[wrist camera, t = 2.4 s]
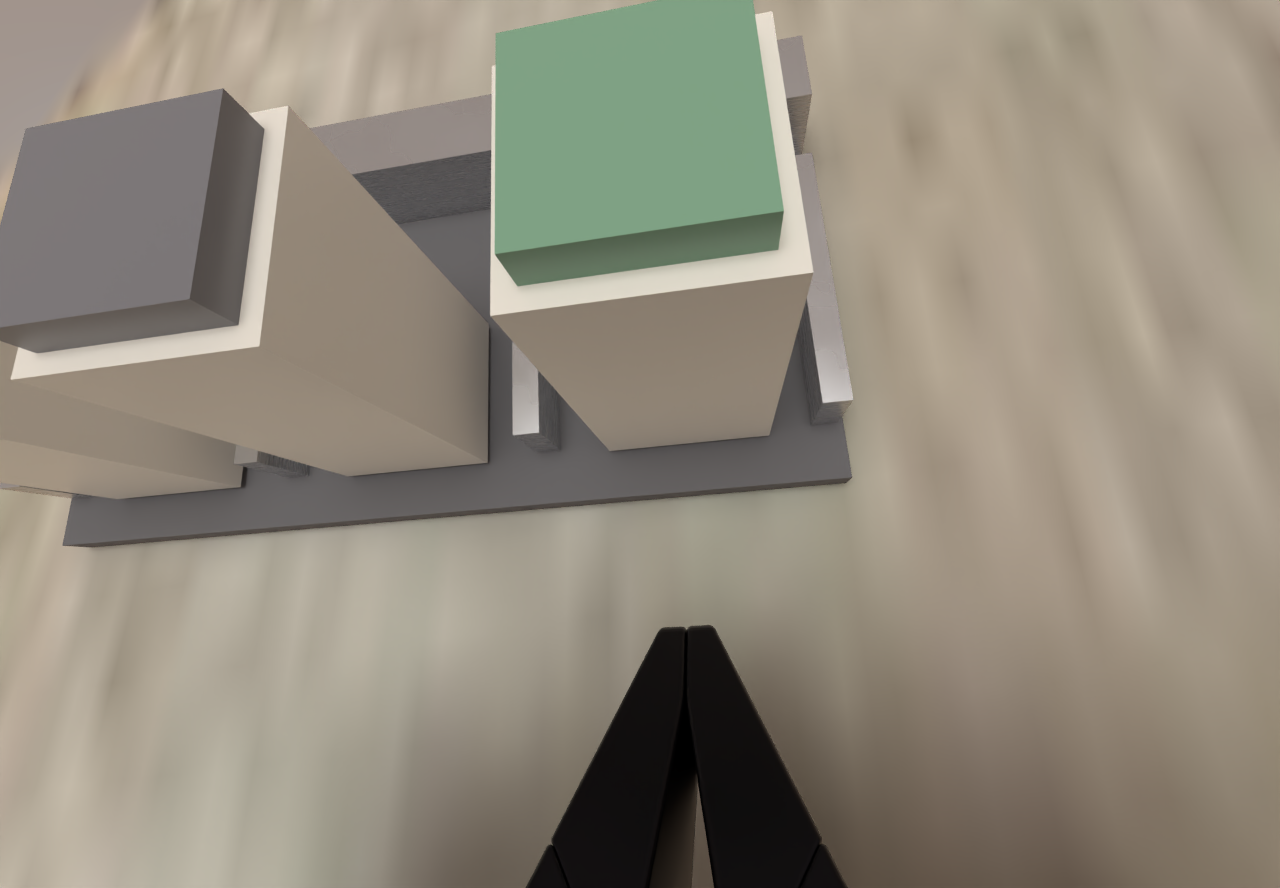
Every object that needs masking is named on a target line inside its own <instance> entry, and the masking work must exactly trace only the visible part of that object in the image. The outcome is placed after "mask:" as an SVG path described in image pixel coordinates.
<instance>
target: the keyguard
mask: <svg viewBox="0 0 1280 888" xmlns="http://www.w3.org/2000/svg"><path fill="white" fill-rule="evenodd" d="M777 45H778V51H779V57H780V64H781V70H782V76H783V83H784V89H785V95H786V102H787V108H788V114H789V121H790V127H791V133H792V140H793V146H794V152H795V159H796V165H797V171H798V177H799V184H800V190H801V196H802V203H803V209H804V215H805V222H806V228H807V234H808V241H809V247H810V253H811V260H812V266H813V272H814V273H813V276H812V280H811V284H810V287H809V291H808V295H807V298H806V302H805V306H804V309H803V313H802V317H801V320H800V324H799V328H798V331H797V334H798V341H799V348H800V355H801V361H802V368H803V375H804V382H805V389H806V396H807V403H808V410H809V416H810V423H811V426H816V425H827V424H837V423H838V422H839V420H840V419H841V417H842V416H843V415H844V413H845V412H846V410H847V409H848V407H849V406H850V404H851V403H852V401H853V395H852V389H851V383H850V377H849V371H848V365H847V359H846V353H845V347H844V341H843V335H842V329H841V323H840V317H839V311H838V305H837V299H836V293H835V287H834V281H833V275H832V269H831V263H830V257H829V251H828V246H827V240H826V234H825V228H824V222H823V216H822V210H821V204H820V198H819V192H818V186H817V180H816V174H815V168H814V162H813V156H812V153H807V154H802V150H803V144H804V138H805V132H806V126H807V120H808V114H809V109H810V103H811V97H812V91H811V85H810V79H809V74H808V68H807V62H806V56H805V51H804V45H803V39H802V36H797V37H791V38H786V39H781V40H777ZM310 130H311V131H312V132H313V133H314V134H315V135H316V136H317V137H318V138H319V139H320V140H321V142H322V143H323V144H324V145H325V146H326V147H327V148H328V149H329V150H330V151H331V152H332V154H333V155H334V156H335V157H336V158H337V159H338V160H339V161H340V162H341V163H342V164H343V166H344V167H345V168H346V169H347V170H348V171H349V172H350V173H351V174H352V175H353V176H354V178H355V179H356V180H357V181H358V182H359V183H360V184H361V185H362V186H363V187H364V188H365V190H366V191H367V192H368V193H369V194H370V195H371V196H372V197H373V198H374V199H375V200H376V202H377V203H378V204H379V205H380V206H381V207H382V208H383V209H384V210H385V211H386V212H387V214H388V215H389V216H390V217H391V218H392V219H393V220H394V221H395V222H396V223H397V224H402V223H408V222H414V221H421V220H427V219H433V218H439V217H445V216H452V215H458V214H464V213H470V212H477V211H483V210H489V209H491V132H492V94H490V95H484V96H479V97H474V98H468V99H463V100H458V101H453V102H447V103H442V104H437V105H431V106H426V107H421V108H416V109H410V110H405V111H400V112H394V113H389V114H384V115H378V116H373V117H368V118H363V119H357V120H352V121H347V122H341V123H336V124H331V125H325V126H320V127H315V128H310ZM512 407H513V436H514V437H516V438H517V439H519V440H520V441H522V442H523V443H524V444H526V445H527V446H529V447H530V448H532V449H533V450H534V451H536V452H537V453H544V452H554V451H562V450H561V412H560V394H559V393H558V392H557V391H556V390H555V389H554V388H553V386H552V385H551V384H550V383H549V382H548V381H547V380H546V379H545V377H544V376H543V375H542V374H541V373H540V372H539V371H538V369H537V368H536V367H535V366H534V365H533V364H532V363H531V362H530V360H529V359H528V358H527V357H526V356H525V355H524V354H523V352H522V351H521V350H520V349H519V348H518V347H517V346H516V345H515V343H514V342H513V341H512ZM234 464H235V465H239V466H243V467H247V468H251V469H255V470H259V471H263V472H267V473H271V474H275V475H280V476H284V477H288V478H291V477H301V476H309V473H310V465H306V464H303V463H299V462H296V461H292V460H289V459H285V458H282V457H278V456H275V455H271V454H268V453H264V452H261V451H257V450H254V449H250V448H247V447H243V446H240V445H236V450H235V458H234ZM0 489H5V490H13V491H21V492H28V493H36V494H43V495H51V496H58V497H66V498H73V499H79V498H89V497H94V496H91V495H84V494H77V493H69V492H62V491H55V490H48V489H41V488H34V487H27V486H20V485H13V484H6V483H0Z"/></svg>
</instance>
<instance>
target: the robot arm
mask: <svg viewBox="0 0 1280 888" xmlns="http://www.w3.org/2000/svg"><path fill="white" fill-rule="evenodd" d="M697 784H698V786H699V792H700V799H701V805H702V812H703V818H704V824H705V831H706V837H707V844H708V850H709V857H710V863H711V870H712V876H713V883H714V888H848V887H847V885H846V884H845V882H844V880H843V878H842V876H841V874H840V872H839V870H838V868H837V866H836V864H835V862H834V860H833V858H832V857H831V855H830V853H829V851H828V849H827V847H826V845H824V844H822V838H821V836H820V834H819V832H818V830H817V828H816V826H815V824H814V822H813V820H812V818H811V816H810V814H809V812H808V810H807V808H806V806H805V804H804V802H803V800H802V798H801V796H800V794H799V792H798V791H797V789H796V787H795V785H794V783H793V781H792V779H791V777H790V775H789V773H788V771H787V769H786V767H785V765H784V763H783V761H782V759H781V757H780V755H779V753H778V751H777V749H776V747H775V745H774V743H773V741H772V739H771V738H770V736H769V734H768V732H767V730H766V728H765V726H764V724H763V722H762V720H761V718H760V716H759V714H758V712H757V710H756V708H755V706H754V704H753V702H752V700H751V698H750V696H749V694H748V692H747V690H746V688H745V686H744V685H743V683H742V681H741V679H740V677H739V675H738V673H737V671H736V669H735V667H734V665H733V663H732V661H731V659H730V657H729V655H728V653H727V651H726V649H725V647H724V645H723V643H722V641H721V639H720V637H719V635H718V633H717V632H716V630H715V628H714V627H713V626H711V625H702V626H690V627H689V628H688V629H687V630H686V628H684V627H665V628H662V629H660V630H659V632H658V633H657V635H656V637H655V639H654V641H653V643H652V645H651V647H650V648H649V650H648V652H647V654H646V656H645V658H644V660H643V662H642V664H641V666H640V668H639V670H638V672H637V674H636V676H635V678H634V679H633V681H632V683H631V685H630V687H629V689H628V691H627V693H626V695H625V697H624V699H623V701H622V703H621V705H620V707H619V709H618V711H617V712H616V714H615V716H614V718H613V720H612V722H611V724H610V726H609V728H608V730H607V732H606V734H605V736H604V738H603V740H602V742H601V743H600V745H599V747H598V749H597V751H596V753H595V755H594V757H593V759H592V761H591V763H590V765H589V767H588V769H587V771H586V773H585V774H584V776H583V778H582V780H581V782H580V784H579V786H578V788H577V790H576V792H575V794H574V796H573V798H572V800H571V802H570V804H569V805H568V807H567V809H566V811H565V813H564V815H563V817H562V819H561V821H560V823H559V825H558V827H557V829H556V831H555V833H554V835H553V836H552V839H551V841H552V844H553V845H551V844H550V845H548V846H547V848H546V850H545V851H544V853H543V855H542V857H541V859H540V861H539V863H538V865H537V867H536V869H535V871H534V873H533V875H532V877H531V878H530V880H529V882H528V884H527V886H526V888H691V885H692V869H693V853H694V836H695V820H696V804H697Z"/></svg>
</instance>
